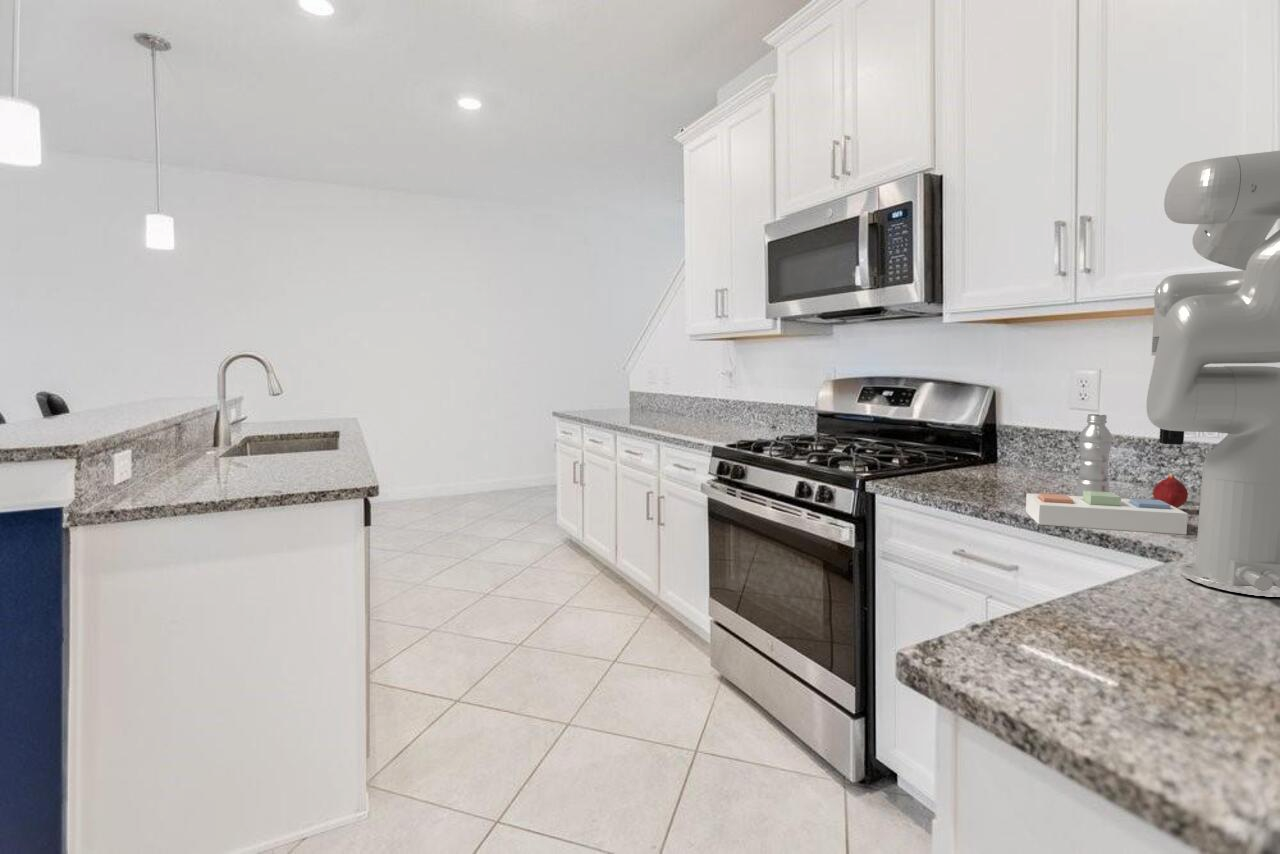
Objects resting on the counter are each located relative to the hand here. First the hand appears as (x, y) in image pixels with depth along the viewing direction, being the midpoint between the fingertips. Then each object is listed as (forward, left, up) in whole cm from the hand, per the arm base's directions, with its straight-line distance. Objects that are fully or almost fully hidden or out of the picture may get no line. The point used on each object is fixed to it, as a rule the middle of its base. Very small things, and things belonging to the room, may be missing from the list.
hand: (1171, 443), depth 122 cm
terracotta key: (+3, +18, -15) cm, 24 cm away
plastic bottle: (+27, +5, -17) cm, 32 cm away
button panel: (+3, +10, -17) cm, 20 cm away
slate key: (+3, +2, -15) cm, 15 cm away
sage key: (+3, +10, -14) cm, 17 cm away
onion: (+19, -7, -17) cm, 26 cm away
